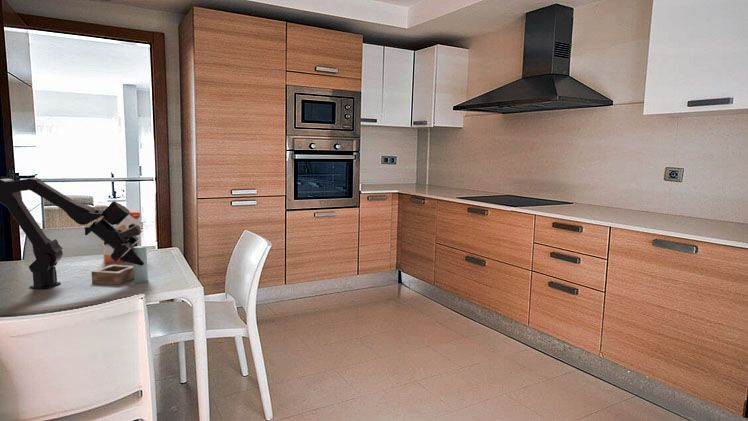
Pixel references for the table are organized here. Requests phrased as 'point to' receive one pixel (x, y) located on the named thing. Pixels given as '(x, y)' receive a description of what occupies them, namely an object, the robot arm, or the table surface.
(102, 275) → the socket base
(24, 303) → the table surface
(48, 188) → the robot arm
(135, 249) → the column
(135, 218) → the cracker box
